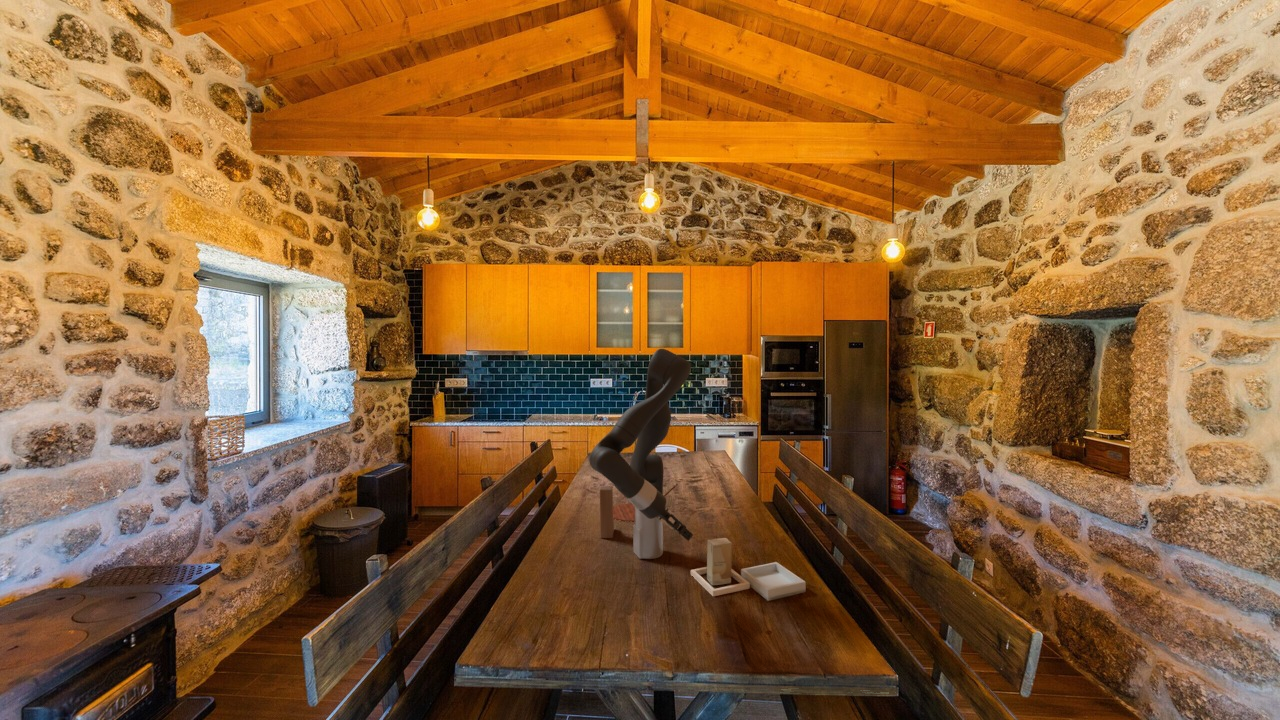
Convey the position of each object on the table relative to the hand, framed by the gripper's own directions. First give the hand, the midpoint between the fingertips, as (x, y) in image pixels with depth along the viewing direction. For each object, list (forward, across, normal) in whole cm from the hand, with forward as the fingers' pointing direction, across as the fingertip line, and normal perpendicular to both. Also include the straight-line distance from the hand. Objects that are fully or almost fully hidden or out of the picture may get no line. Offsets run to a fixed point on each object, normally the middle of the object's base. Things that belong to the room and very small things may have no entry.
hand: (683, 532), depth 144 cm
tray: (+29, -8, -6) cm, 31 cm away
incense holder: (+21, +65, +3) cm, 68 cm away
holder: (+20, 0, +4) cm, 20 cm away
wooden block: (+6, +48, +18) cm, 52 cm away
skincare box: (+20, 0, +4) cm, 20 cm away
